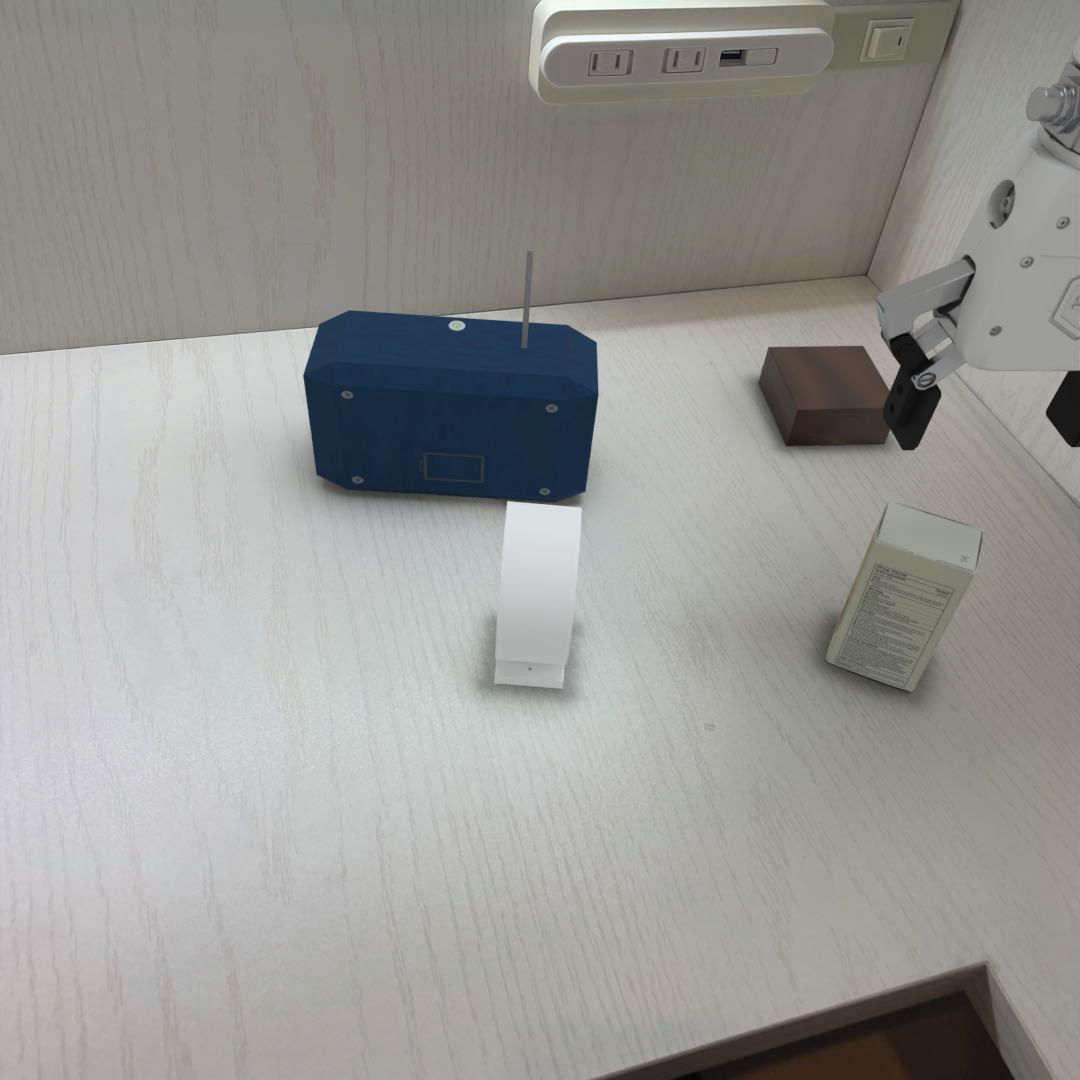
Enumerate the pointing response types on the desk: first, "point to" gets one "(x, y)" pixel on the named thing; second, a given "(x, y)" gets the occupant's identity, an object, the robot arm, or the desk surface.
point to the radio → (453, 405)
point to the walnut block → (825, 395)
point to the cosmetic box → (905, 594)
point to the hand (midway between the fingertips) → (981, 432)
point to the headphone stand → (537, 594)
